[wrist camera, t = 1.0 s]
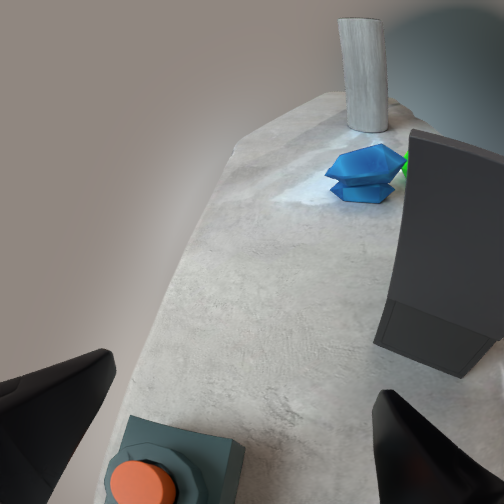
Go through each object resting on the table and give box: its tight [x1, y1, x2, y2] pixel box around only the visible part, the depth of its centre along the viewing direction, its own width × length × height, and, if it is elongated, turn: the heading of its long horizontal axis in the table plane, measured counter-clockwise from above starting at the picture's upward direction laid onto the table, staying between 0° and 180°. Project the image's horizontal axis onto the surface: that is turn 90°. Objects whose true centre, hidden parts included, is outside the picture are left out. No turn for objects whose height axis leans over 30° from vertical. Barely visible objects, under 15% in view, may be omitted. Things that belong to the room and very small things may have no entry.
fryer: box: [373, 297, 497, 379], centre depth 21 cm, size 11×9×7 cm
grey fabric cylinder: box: [338, 18, 388, 133], centre depth 51 cm, size 10×10×27 cm
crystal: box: [324, 144, 407, 203], centre depth 36 cm, size 7×9×12 cm
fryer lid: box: [387, 129, 504, 341], centre depth 11 cm, size 12×9×1 cm
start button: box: [110, 460, 176, 504], centre depth 11 cm, size 4×4×2 cm
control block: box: [104, 415, 245, 504], centre depth 14 cm, size 10×8×6 cm
